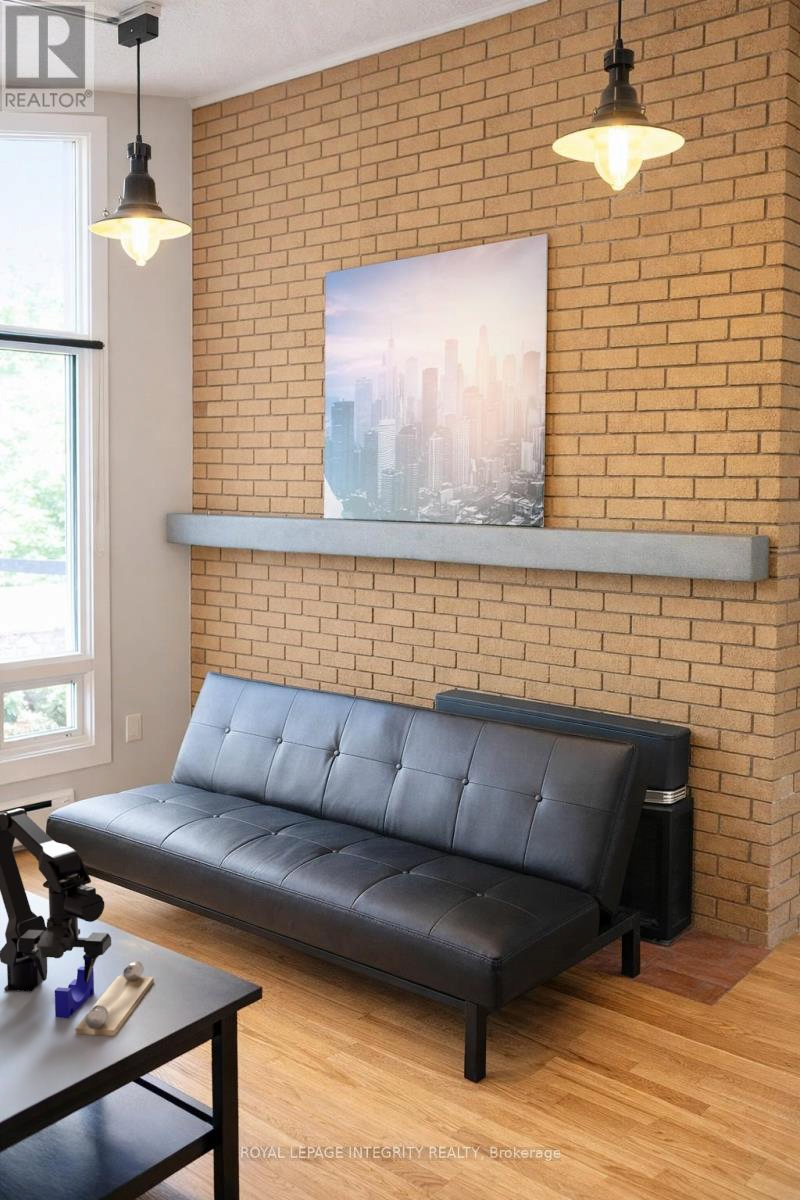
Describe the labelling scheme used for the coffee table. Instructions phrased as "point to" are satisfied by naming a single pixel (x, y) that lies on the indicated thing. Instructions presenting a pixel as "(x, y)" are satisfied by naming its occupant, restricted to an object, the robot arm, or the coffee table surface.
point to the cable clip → (73, 995)
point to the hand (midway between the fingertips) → (65, 981)
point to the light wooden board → (117, 1004)
